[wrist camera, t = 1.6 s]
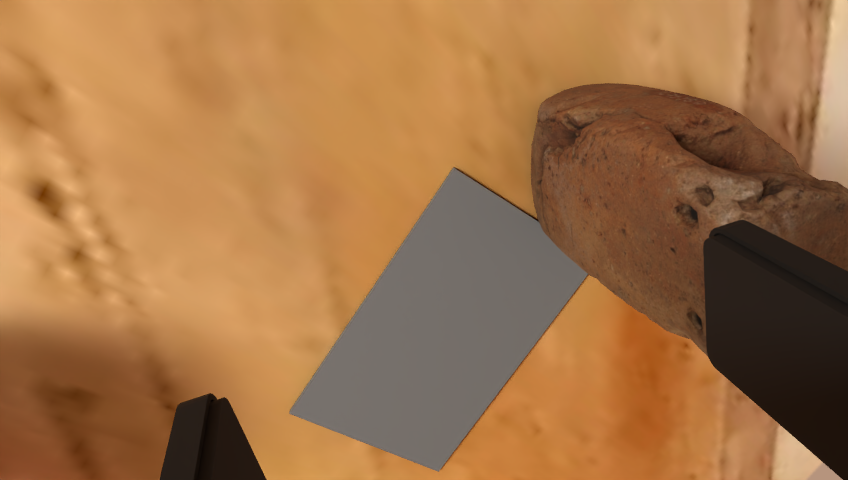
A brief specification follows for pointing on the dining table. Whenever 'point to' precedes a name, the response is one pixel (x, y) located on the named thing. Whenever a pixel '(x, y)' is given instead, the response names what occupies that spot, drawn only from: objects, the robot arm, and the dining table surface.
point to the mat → (442, 326)
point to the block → (668, 193)
